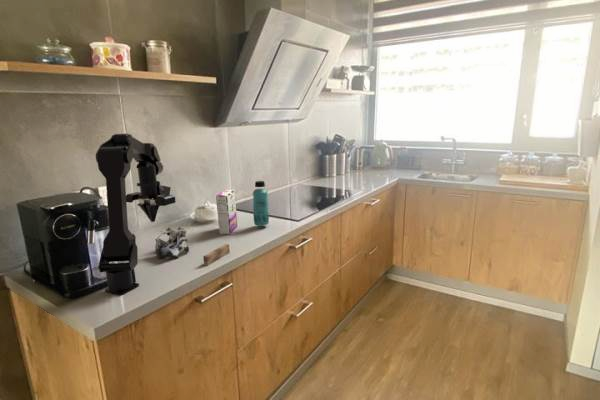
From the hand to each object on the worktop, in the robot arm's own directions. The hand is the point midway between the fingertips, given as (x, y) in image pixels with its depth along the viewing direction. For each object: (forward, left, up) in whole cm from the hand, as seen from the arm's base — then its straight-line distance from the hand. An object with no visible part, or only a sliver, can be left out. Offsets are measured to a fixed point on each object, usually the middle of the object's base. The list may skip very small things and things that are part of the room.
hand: (153, 221), depth 130 cm
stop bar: (0, -28, -10) cm, 30 cm away
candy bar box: (+27, -13, -10) cm, 32 cm away
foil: (0, -9, -11) cm, 14 cm away
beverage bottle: (+36, -24, -10) cm, 45 cm away
